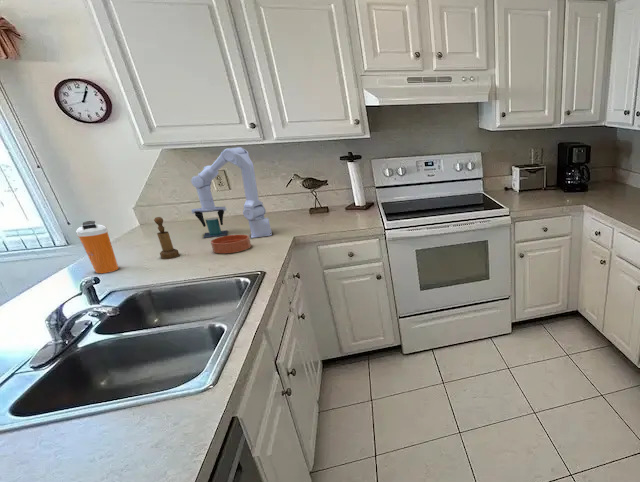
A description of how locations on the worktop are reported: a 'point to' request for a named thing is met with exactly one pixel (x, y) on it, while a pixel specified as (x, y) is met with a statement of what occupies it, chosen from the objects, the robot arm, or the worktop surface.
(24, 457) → the worktop surface
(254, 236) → the robot arm
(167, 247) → the wooden pepper mill
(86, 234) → the shaker bottle
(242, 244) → the terracotta bowl
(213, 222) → the teal cup
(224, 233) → the slate coaster
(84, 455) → the worktop surface
